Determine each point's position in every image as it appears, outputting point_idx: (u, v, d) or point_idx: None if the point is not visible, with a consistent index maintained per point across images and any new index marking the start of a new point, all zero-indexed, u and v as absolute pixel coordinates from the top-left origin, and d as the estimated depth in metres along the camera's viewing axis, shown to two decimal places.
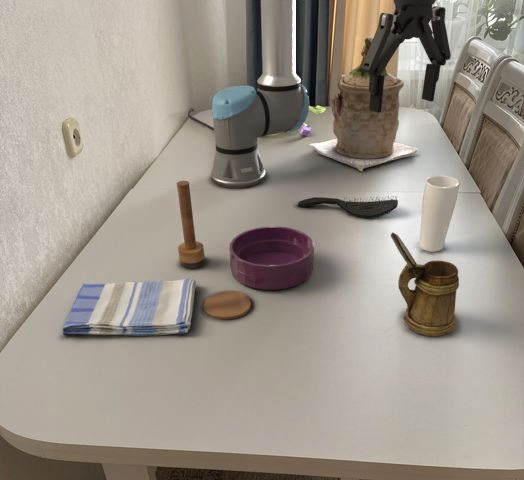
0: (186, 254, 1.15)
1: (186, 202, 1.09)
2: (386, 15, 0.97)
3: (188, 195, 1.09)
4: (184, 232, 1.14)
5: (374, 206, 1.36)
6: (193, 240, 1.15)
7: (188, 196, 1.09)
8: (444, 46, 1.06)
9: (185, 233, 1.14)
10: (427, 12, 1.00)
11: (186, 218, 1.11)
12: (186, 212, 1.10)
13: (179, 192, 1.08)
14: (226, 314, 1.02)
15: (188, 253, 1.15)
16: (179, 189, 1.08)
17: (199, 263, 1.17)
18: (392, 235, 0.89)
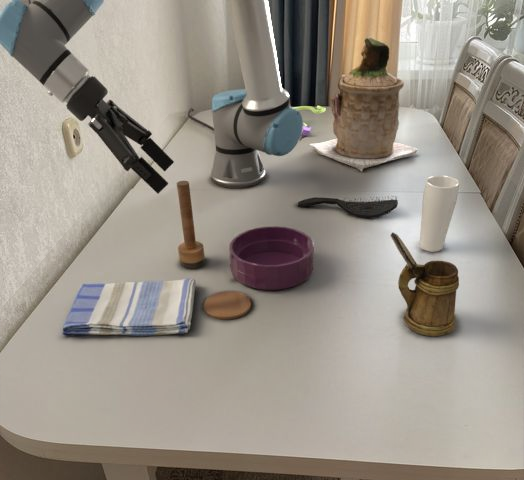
0: (186, 254, 1.15)
1: (186, 202, 1.09)
2: None
3: (188, 195, 1.09)
4: (184, 232, 1.14)
5: (374, 206, 1.36)
6: (193, 240, 1.15)
7: (188, 196, 1.09)
8: None
9: (185, 233, 1.14)
10: None
11: (186, 218, 1.11)
12: (186, 212, 1.10)
13: (179, 192, 1.08)
14: (226, 314, 1.02)
15: (188, 253, 1.15)
16: (179, 189, 1.08)
17: (199, 263, 1.17)
18: (392, 235, 0.89)
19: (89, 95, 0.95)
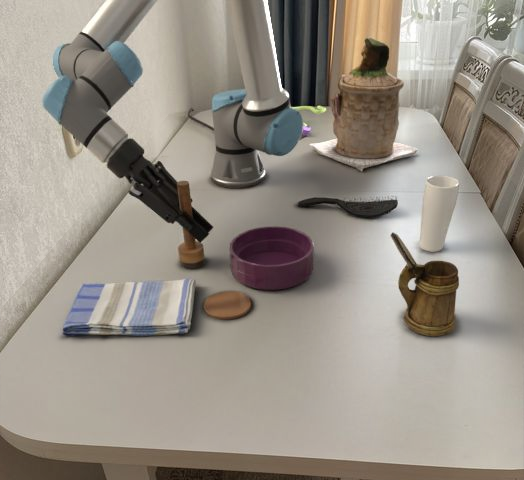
0: (186, 254, 1.15)
1: (186, 202, 1.09)
2: None
3: (188, 195, 1.09)
4: (184, 232, 1.14)
5: (374, 206, 1.36)
6: (193, 240, 1.15)
7: (188, 196, 1.09)
8: None
9: (185, 233, 1.14)
10: None
11: None
12: None
13: (179, 192, 1.08)
14: (226, 314, 1.02)
15: (188, 253, 1.15)
16: (179, 189, 1.08)
17: (199, 263, 1.17)
18: (392, 235, 0.89)
19: (123, 158, 1.04)
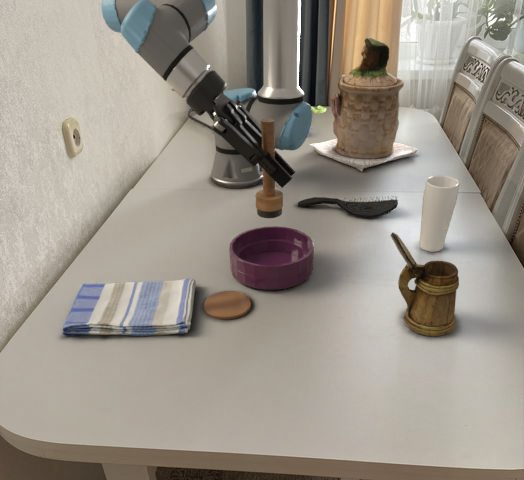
0: (265, 201, 1.06)
1: (270, 142, 1.01)
2: None
3: (273, 134, 1.00)
4: (264, 177, 1.05)
5: (374, 206, 1.36)
6: (273, 186, 1.06)
7: (272, 135, 1.00)
8: None
9: (265, 178, 1.05)
10: None
11: None
12: None
13: (263, 130, 1.00)
14: (226, 314, 1.02)
15: (268, 200, 1.06)
16: (264, 127, 0.99)
17: (278, 212, 1.09)
18: (392, 235, 0.89)
19: (207, 90, 0.96)
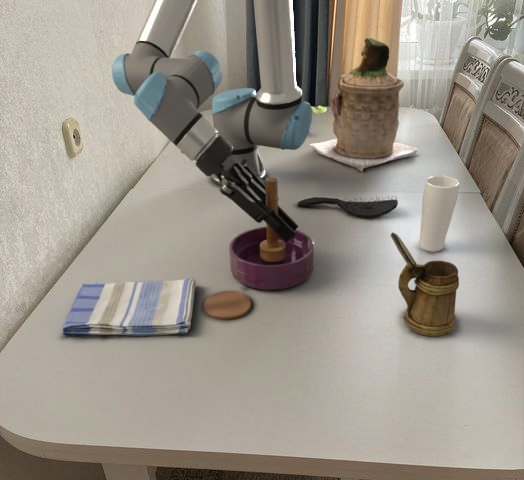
0: (269, 252, 1.12)
1: (274, 199, 1.07)
2: None
3: (276, 192, 1.06)
4: (268, 230, 1.11)
5: (374, 206, 1.36)
6: (276, 238, 1.12)
7: (276, 193, 1.06)
8: None
9: (269, 231, 1.11)
10: None
11: None
12: (273, 209, 1.08)
13: (267, 189, 1.05)
14: (226, 314, 1.02)
15: (271, 251, 1.12)
16: (268, 186, 1.05)
17: (281, 261, 1.15)
18: (392, 235, 0.89)
19: (215, 156, 1.01)
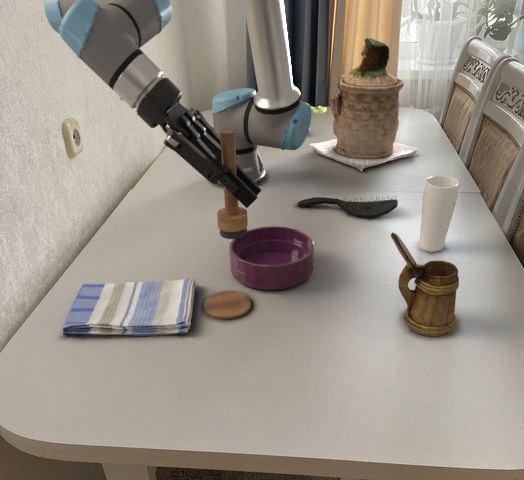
0: (227, 220, 0.96)
1: (231, 155, 0.90)
2: None
3: (233, 147, 0.90)
4: (226, 194, 0.94)
5: (374, 206, 1.36)
6: (236, 204, 0.96)
7: (232, 148, 0.90)
8: None
9: (227, 195, 0.94)
10: None
11: None
12: (230, 168, 0.91)
13: (222, 143, 0.89)
14: (226, 314, 1.02)
15: (230, 219, 0.95)
16: (223, 139, 0.89)
17: (242, 232, 0.98)
18: (392, 235, 0.89)
19: (158, 100, 0.85)
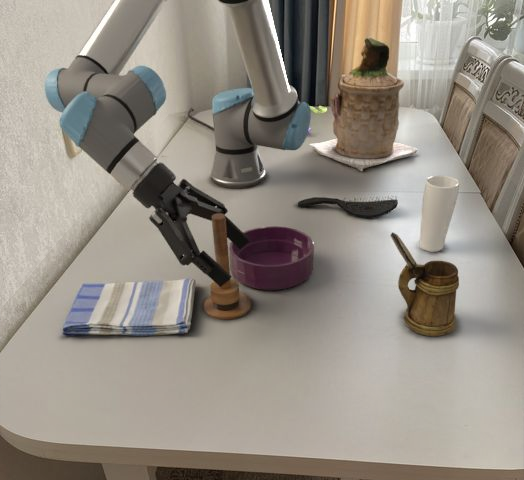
0: (220, 294, 1.01)
1: (222, 237, 0.95)
2: None
3: (224, 230, 0.95)
4: None
5: (374, 206, 1.36)
6: None
7: (224, 231, 0.95)
8: None
9: None
10: None
11: (221, 256, 0.97)
12: (221, 248, 0.97)
13: (214, 227, 0.94)
14: (226, 314, 1.02)
15: (222, 294, 1.01)
16: (214, 223, 0.94)
17: (234, 304, 1.03)
18: (392, 235, 0.89)
19: (153, 186, 0.90)
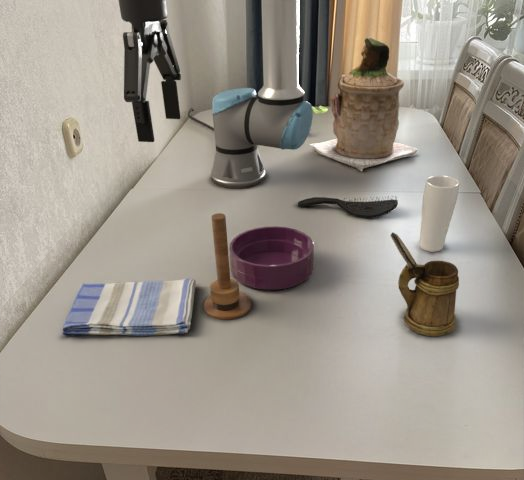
0: (220, 294, 1.01)
1: (222, 237, 0.95)
2: None
3: (224, 230, 0.95)
4: (218, 270, 1.00)
5: (374, 206, 1.36)
6: (228, 279, 1.01)
7: (224, 231, 0.95)
8: None
9: (219, 271, 1.00)
10: None
11: (221, 256, 0.97)
12: (221, 248, 0.97)
13: (214, 227, 0.94)
14: (226, 314, 1.02)
15: (222, 294, 1.01)
16: (214, 223, 0.94)
17: (234, 304, 1.03)
18: (392, 235, 0.89)
19: (145, 9, 0.85)
